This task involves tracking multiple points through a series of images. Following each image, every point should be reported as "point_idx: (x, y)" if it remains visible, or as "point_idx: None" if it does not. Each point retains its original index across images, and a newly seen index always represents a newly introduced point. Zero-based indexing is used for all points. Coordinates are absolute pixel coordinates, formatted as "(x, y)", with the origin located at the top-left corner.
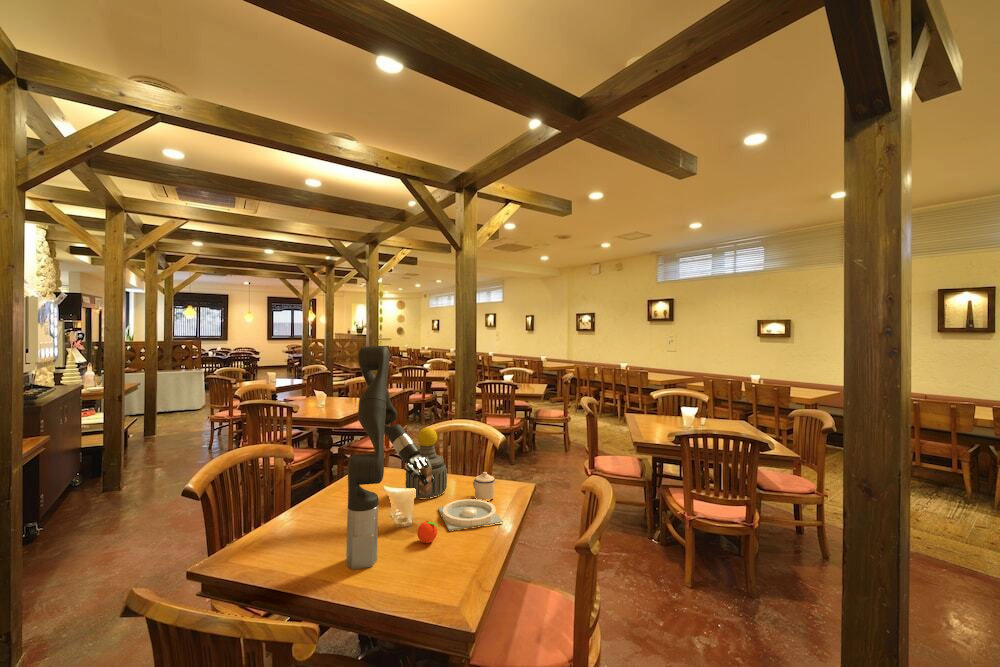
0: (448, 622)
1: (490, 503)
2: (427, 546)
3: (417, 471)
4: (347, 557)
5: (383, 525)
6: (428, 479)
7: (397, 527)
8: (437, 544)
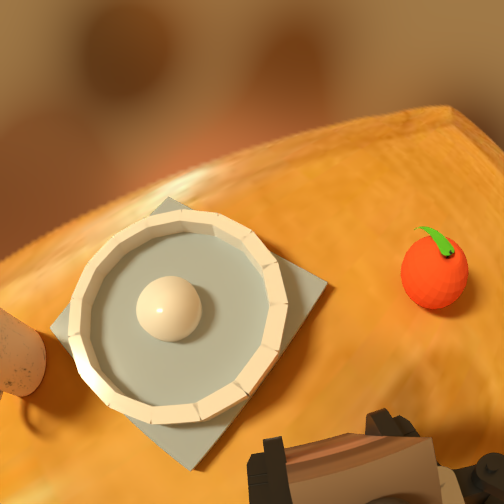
0: (470, 122)
1: (83, 272)
2: None
3: (496, 485)
4: None
5: None
6: (347, 446)
7: None
8: None
